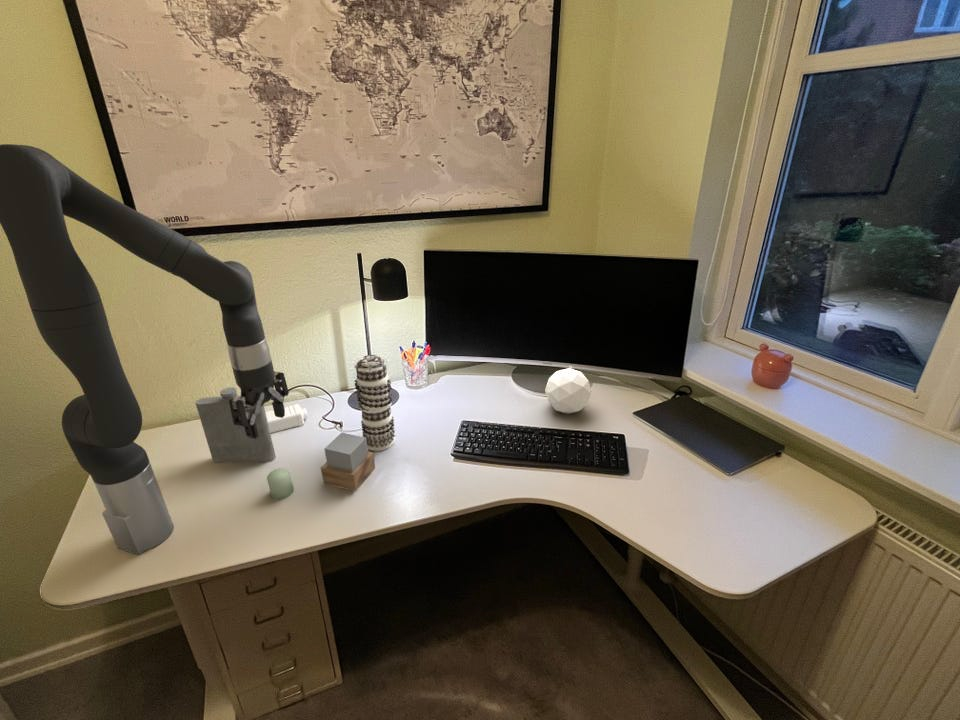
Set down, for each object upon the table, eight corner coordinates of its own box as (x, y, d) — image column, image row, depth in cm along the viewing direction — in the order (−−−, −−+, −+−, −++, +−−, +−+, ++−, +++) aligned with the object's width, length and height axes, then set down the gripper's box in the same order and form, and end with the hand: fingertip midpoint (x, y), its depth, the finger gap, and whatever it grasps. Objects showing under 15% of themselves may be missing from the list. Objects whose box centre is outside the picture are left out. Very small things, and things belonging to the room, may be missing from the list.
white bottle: (309, 424, 140) (307, 411, 138) (260, 437, 134) (257, 424, 132) (305, 414, 145) (303, 401, 143) (257, 425, 140) (254, 412, 138)
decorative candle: (355, 448, 129) (343, 364, 118) (373, 429, 137) (363, 349, 126) (386, 454, 126) (376, 369, 116) (402, 435, 134) (395, 354, 123)
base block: (356, 492, 114) (353, 475, 112) (323, 484, 116) (320, 467, 114) (375, 468, 122) (373, 452, 119) (344, 462, 124) (341, 446, 122)
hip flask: (210, 463, 124) (189, 395, 115) (218, 453, 127) (198, 387, 119) (273, 462, 124) (257, 394, 115) (278, 452, 128) (263, 386, 119)
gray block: (352, 471, 113) (350, 454, 111) (327, 465, 115) (324, 448, 113) (368, 454, 119) (366, 437, 116) (344, 449, 121) (341, 432, 119)
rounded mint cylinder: (284, 501, 111) (280, 484, 109) (266, 496, 112) (262, 479, 110) (298, 487, 115) (294, 470, 113) (280, 483, 117) (276, 466, 114)
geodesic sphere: (542, 376, 153) (546, 356, 141) (585, 377, 153) (593, 357, 140) (543, 419, 147) (547, 402, 134) (589, 420, 146) (597, 403, 134)
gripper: (240, 378, 92) (259, 448, 99) (289, 348, 104) (302, 412, 111) (209, 373, 94) (229, 442, 101) (260, 344, 106) (274, 407, 113)
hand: (267, 426), depth 106 cm, fingers open, 8 cm apart
